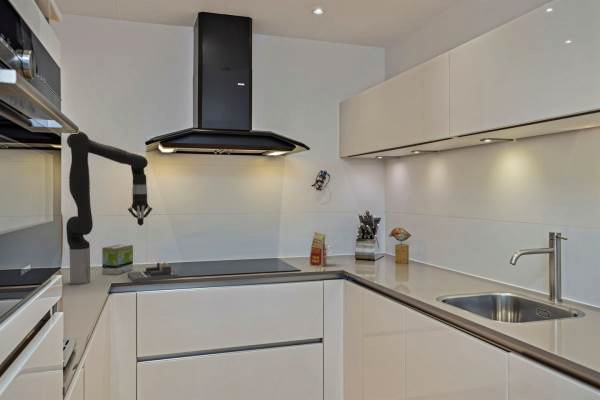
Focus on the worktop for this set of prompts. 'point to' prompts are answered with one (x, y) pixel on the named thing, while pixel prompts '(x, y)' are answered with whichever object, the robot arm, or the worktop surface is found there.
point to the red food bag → (318, 251)
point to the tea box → (117, 259)
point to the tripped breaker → (163, 265)
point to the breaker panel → (142, 278)
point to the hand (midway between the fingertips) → (140, 225)
